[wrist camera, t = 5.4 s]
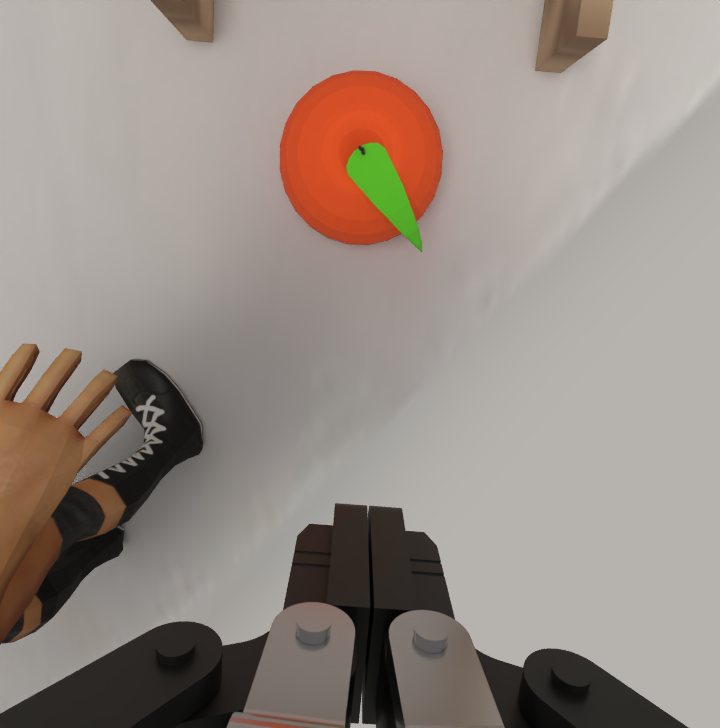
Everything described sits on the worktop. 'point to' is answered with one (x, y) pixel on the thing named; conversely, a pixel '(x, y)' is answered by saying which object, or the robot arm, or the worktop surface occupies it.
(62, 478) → the figurine
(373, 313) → the worktop surface
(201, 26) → the bay
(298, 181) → the clementine
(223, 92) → the worktop surface
